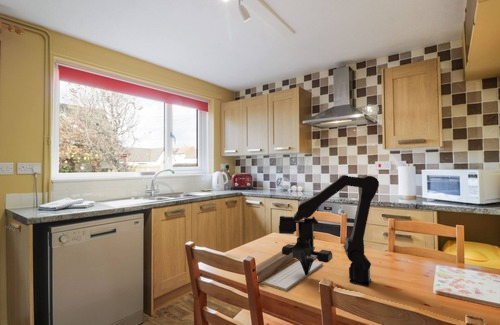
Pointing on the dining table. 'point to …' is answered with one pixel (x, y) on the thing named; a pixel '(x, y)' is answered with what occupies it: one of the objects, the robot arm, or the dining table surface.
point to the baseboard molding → (289, 276)
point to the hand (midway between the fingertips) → (306, 275)
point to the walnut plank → (272, 265)
